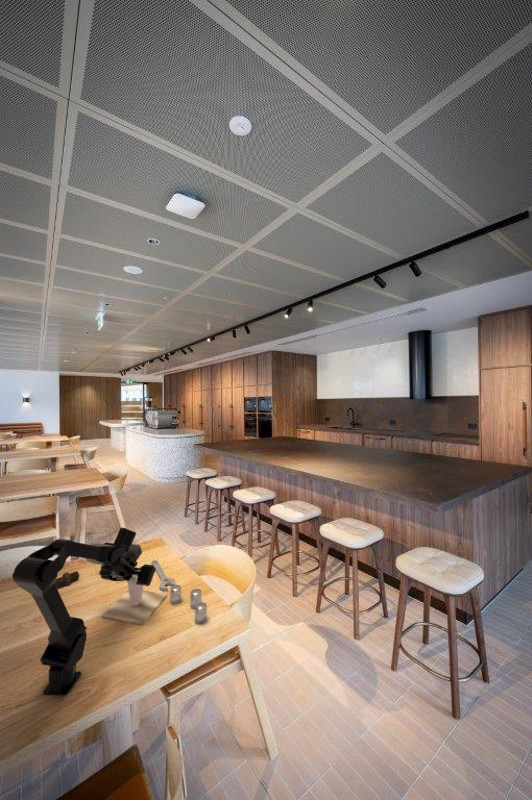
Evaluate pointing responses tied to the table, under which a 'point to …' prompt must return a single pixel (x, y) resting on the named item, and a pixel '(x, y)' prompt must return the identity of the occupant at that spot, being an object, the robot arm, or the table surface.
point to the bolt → (66, 578)
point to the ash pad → (135, 608)
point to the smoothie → (135, 591)
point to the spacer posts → (191, 603)
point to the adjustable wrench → (163, 577)
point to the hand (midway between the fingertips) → (138, 579)
